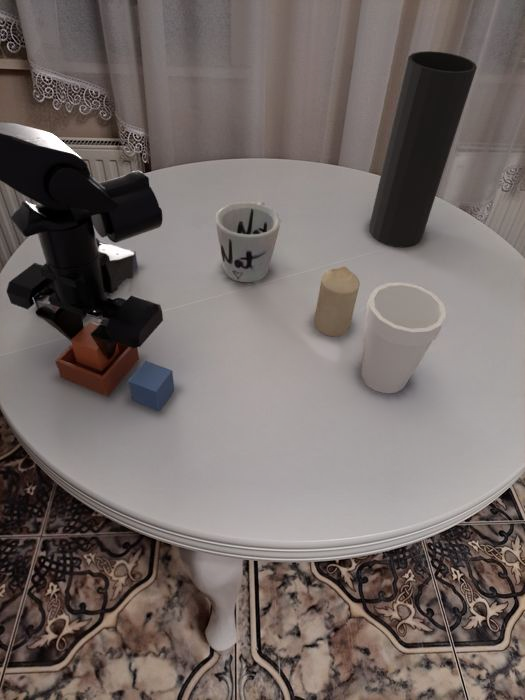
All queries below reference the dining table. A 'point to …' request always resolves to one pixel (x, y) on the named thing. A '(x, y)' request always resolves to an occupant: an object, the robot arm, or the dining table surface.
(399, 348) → the foam cup
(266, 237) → the mug
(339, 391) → the dining table surface
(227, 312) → the dining table surface
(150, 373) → the slate block
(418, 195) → the vase
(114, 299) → the robot arm
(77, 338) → the terracotta block
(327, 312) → the candle
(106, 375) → the terracotta bin
